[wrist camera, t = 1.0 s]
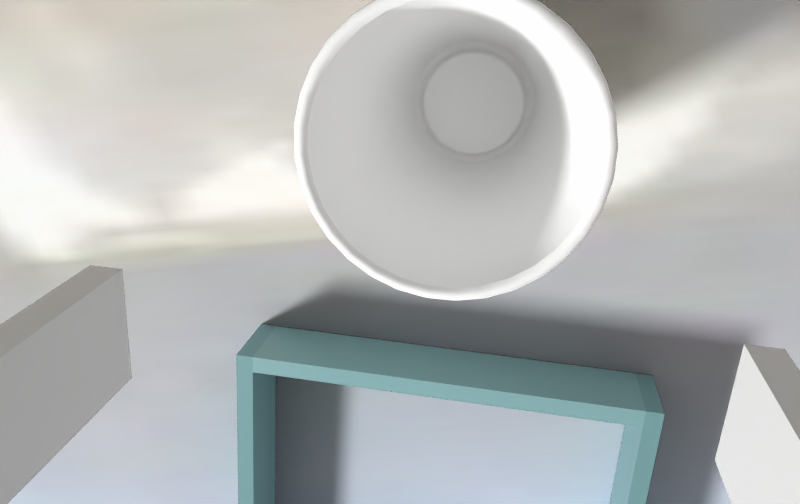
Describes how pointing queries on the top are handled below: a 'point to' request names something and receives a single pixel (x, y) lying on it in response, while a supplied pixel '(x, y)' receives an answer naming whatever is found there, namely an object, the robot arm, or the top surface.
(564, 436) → the top surface
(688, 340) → the top surface
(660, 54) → the top surface
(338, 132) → the cup
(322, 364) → the walled box
